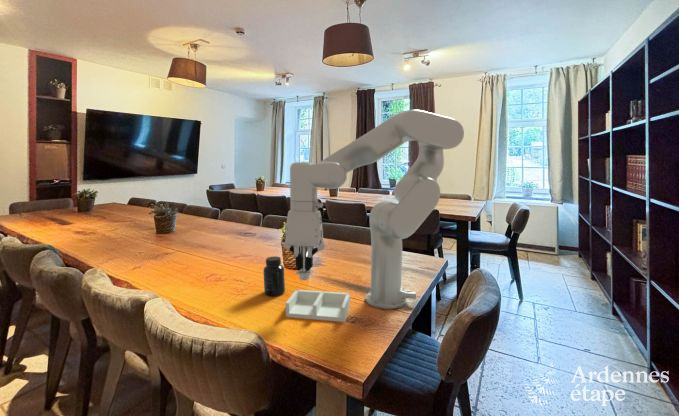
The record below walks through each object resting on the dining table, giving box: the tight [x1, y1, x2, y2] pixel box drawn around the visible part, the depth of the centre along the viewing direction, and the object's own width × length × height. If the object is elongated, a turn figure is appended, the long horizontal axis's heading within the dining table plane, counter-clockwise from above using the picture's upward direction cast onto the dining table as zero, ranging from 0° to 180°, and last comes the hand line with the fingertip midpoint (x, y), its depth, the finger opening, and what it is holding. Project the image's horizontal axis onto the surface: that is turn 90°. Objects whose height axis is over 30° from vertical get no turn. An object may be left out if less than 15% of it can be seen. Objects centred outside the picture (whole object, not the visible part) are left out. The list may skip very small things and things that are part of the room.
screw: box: [295, 246, 314, 281], centre depth 96 cm, size 13×5×5 cm
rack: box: [285, 289, 351, 323], centre depth 98 cm, size 17×10×4 cm, turn 80°
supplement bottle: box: [263, 256, 286, 297], centre depth 111 cm, size 7×7×12 cm
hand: (304, 268), depth 97 cm, fingers closed on screw, 2 cm apart
